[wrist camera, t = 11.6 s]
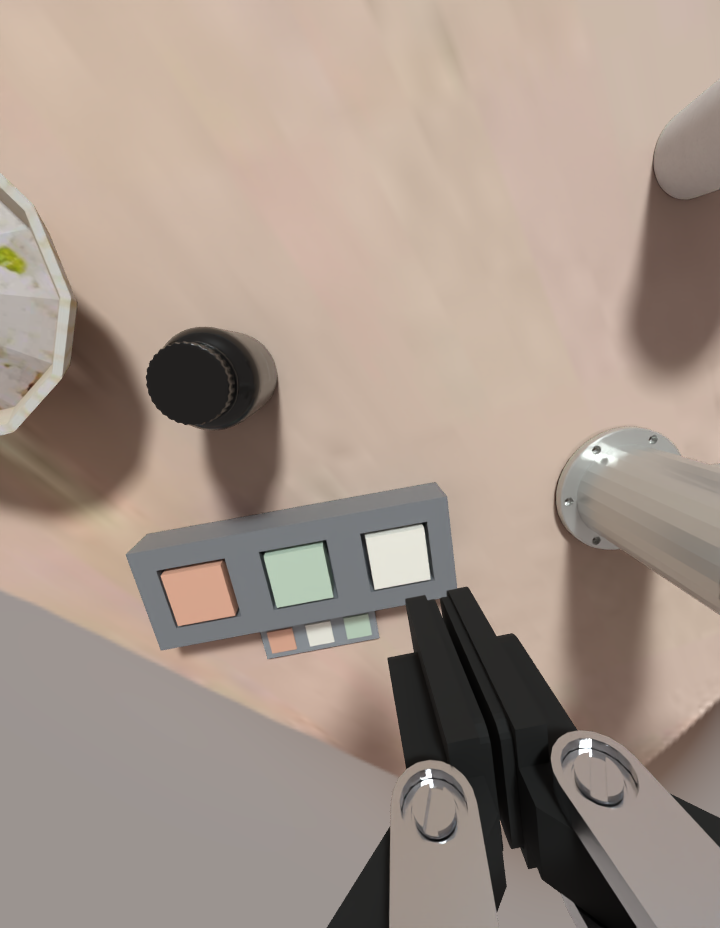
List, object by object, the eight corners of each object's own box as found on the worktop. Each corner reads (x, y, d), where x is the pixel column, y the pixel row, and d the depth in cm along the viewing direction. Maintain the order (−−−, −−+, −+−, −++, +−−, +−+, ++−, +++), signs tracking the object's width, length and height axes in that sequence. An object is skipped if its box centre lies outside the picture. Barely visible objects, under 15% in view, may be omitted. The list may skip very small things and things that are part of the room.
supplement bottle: (203, 323, 33) (132, 305, 21) (284, 344, 33) (259, 337, 22) (192, 404, 34) (121, 428, 23) (270, 421, 35) (239, 453, 24)
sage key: (323, 531, 37) (322, 546, 34) (333, 579, 38) (333, 597, 35) (269, 541, 37) (263, 556, 34) (281, 588, 38) (276, 607, 35)
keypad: (435, 482, 38) (447, 496, 34) (446, 572, 40) (457, 595, 36) (147, 534, 37) (125, 554, 33) (177, 622, 40) (160, 650, 36)
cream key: (416, 514, 37) (424, 527, 34) (423, 562, 38) (430, 579, 36) (362, 524, 37) (365, 538, 34) (371, 572, 38) (374, 589, 35)
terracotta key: (229, 548, 37) (220, 565, 34) (242, 596, 38) (235, 615, 35) (174, 558, 36) (160, 575, 34) (189, 605, 38) (177, 626, 35)
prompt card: (373, 602, 41) (373, 607, 40) (378, 634, 42) (379, 639, 41) (259, 624, 40) (258, 628, 40) (268, 655, 42) (267, 660, 41)
